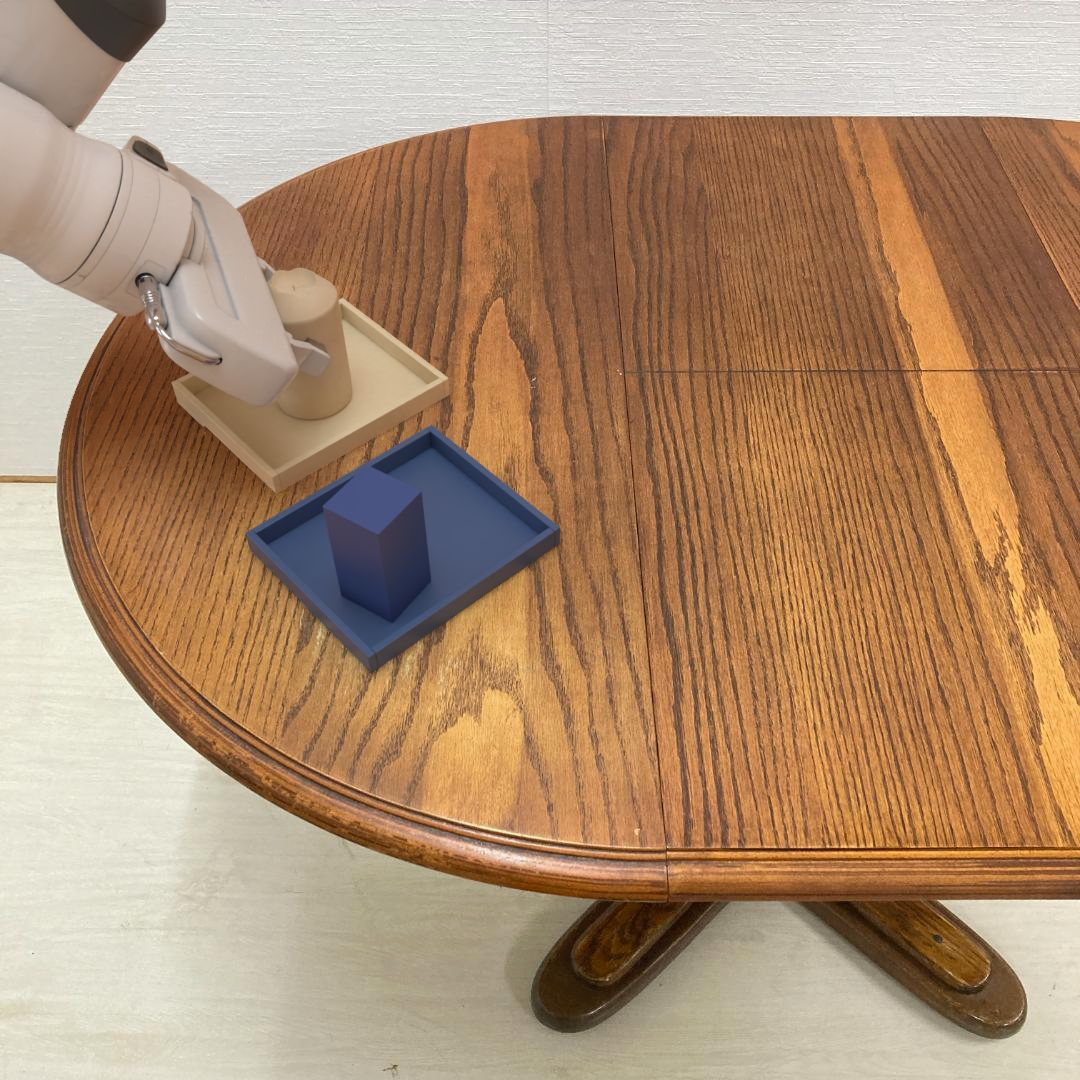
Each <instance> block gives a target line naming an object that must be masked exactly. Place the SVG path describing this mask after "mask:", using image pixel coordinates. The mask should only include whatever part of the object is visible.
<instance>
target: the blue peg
mask: <svg viewBox="0 0 1080 1080" xmlns="http://www.w3.org/2000/svg"><path fill="white" fill-rule="evenodd" d="M323 511H324V515H325V520H326V525H327V530H328V535H329V539H330V544H331V549H332V554H333V559H334V564H335V568H336V573H337V578H338V583H339V588H340V592H341V596H343V597H345V598H347V599H349V600H350V601H352V602H354V603H356V604H358V605H360V606H362V607H363V608H365V609H367V610H369V611H371V612H373V613H374V614H376V615H378V616H380V617H382V618H384V619H386V620H387V621H389V622H391V623H393V622H394V621H395V620H396V619H397V618H398V616H399V615H400V614H401V613H402V612H403V611H404V610H405V609H406V608H407V607H408V606H409V604H410V603H411V602H412V601H413V600H414V599H415V598H416V597H417V596H418V595H419V594H420V592H421V591H422V590H423V589H424V588H425V587H426V586H427V585H428V584H429V583H430V582H431V572H430V563H429V554H428V545H427V536H426V526H425V517H424V508H423V499H422V491H420V490H418V489H416V488H414V487H412V486H410V485H408V484H406V483H404V482H402V481H400V480H398V479H396V478H393V477H391V476H389V475H387V474H385V473H383V472H381V471H379V470H377V469H375V468H373V467H371V466H369V465H366V466H365V467H364V468H363V469H362V470H361V471H360V472H358V473H357V474H356V475H355V476H354V477H353V478H352V479H351V480H350V481H349V482H348V483H347V484H346V485H345V486H344V487H343V488H341V489H340V490H339V491H338V492H337V493H336V494H335V495H334V496H333V497H332V498H331V499H330V500H329V501H328V502H327V503H326V504H324V505H323Z"/></svg>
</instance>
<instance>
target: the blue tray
mask: <svg viewBox="0 0 1080 1080" xmlns="http://www.w3.org/2000/svg"><path fill="white" fill-rule="evenodd" d="M366 465H369V466H371V467H373V468H375V469H377V470H379V471H381V472H383V473H385V474H387V475H389V476H391V477H393V478H396V479H398V480H400V481H402V482H404V483H406V484H408V485H410V486H412V487H414V488H416V489H418V490H420V491H422V499H423V508H424V517H425V526H426V536H427V545H428V554H429V563H430V572H431V582H430V583H429V584H428V585H427V586H426V587H425V588H424V589H423V590H422V591H421V592H420V594H419V595H418V596H417V597H416V598H415V599H414V600H413V601H412V602H411V603H410V604H409V606H408V607H407V608H406V609H405V610H404V611H403V612H402V613H401V614H400V615H399V616H398V618H397V619H396V620H395V621H394V622H393V623H391V622H389V621H387V620H386V619H384V618H382V617H380V616H378V615H376V614H374V613H373V612H371V611H369V610H367V609H365V608H363V607H362V606H360V605H358V604H356V603H354V602H352V601H350V600H349V599H347V598H345V597H343V596H341V592H340V588H339V583H338V578H337V573H336V568H335V564H334V559H333V554H332V549H331V544H330V539H329V535H328V530H327V525H326V520H325V515H324V511H323V505H324V504H326V503H327V502H328V501H329V500H330V499H331V498H332V497H333V496H334V495H335V494H336V493H337V492H338V491H339V490H340V489H341V488H343V487H344V486H345V485H346V484H347V483H348V482H349V481H350V480H351V479H352V478H353V477H354V476H355V475H356V474H357V473H358V472H360V471H361V470H362V469H363V468H364V467H365V466H366ZM244 534H245V537H246V541H247V545H248V548H249V550H250V551H251V552H252V554H254V555H255V556H256V557H257V559H259V560H260V562H261V563H263V565H264V566H266V568H268V570H270V572H272V574H273V575H274V576H275V577H276V578H277V579H278V580H279V581H280V582H281V583H282V584H283V585H284V586H285V587H286V588H287V589H288V590H289V591H290V592H291V593H292V594H293V595H294V596H295V597H296V598H297V599H298V600H299V601H300V602H301V603H302V604H303V605H304V606H305V607H306V608H307V609H308V611H310V612H311V614H313V615H314V617H316V618H317V619H318V621H320V622H321V623H322V625H323V626H324V627H325V628H326V629H327V630H328V631H329V632H330V633H331V634H332V635H333V636H334V637H335V638H336V639H337V640H338V641H339V642H340V643H341V644H342V645H343V646H344V647H345V648H346V649H347V650H348V651H349V652H350V653H351V655H353V656H354V657H355V658H356V659H357V660H358V661H359V662H360V663H361V665H363V666H364V668H366V670H368V671H369V672H370V673H371V674H373V673H374V672H376V671H377V670H379V669H380V668H382V667H384V665H386V664H387V663H389V662H390V661H392V660H393V659H395V658H397V656H399V655H400V654H402V653H403V652H405V651H406V650H408V649H409V648H411V647H413V646H414V645H415V644H417V643H419V642H420V641H421V640H422V639H424V638H425V637H427V636H428V635H430V634H431V633H433V632H434V631H435V630H437V629H438V628H440V627H442V626H443V625H444V624H446V623H447V622H448V621H450V620H451V619H453V618H454V617H456V616H457V615H458V614H460V613H461V612H463V611H464V610H466V609H468V608H469V607H470V606H471V605H473V604H475V603H476V602H478V601H479V600H481V599H482V598H484V597H485V596H487V595H488V594H489V593H491V592H492V591H494V590H495V589H496V588H498V587H499V586H501V585H502V584H504V583H505V582H506V581H508V580H509V579H511V578H512V577H514V576H515V575H517V574H518V573H520V572H521V571H523V570H524V569H525V568H527V567H529V566H530V565H531V564H533V563H535V562H536V561H537V560H539V559H540V558H541V557H543V556H544V555H546V554H547V553H549V552H551V550H553V549H554V548H556V547H557V546H559V545H560V543H561V527H560V526H559V524H557V523H555V522H554V521H553V520H551V519H550V518H549V517H548V516H547V515H546V514H544V513H543V512H541V511H540V510H539V509H538V508H536V507H535V506H534V505H533V504H531V503H530V502H529V501H528V500H527V499H525V498H524V497H523V496H521V495H520V494H519V493H518V492H516V491H515V490H514V489H513V488H511V487H510V486H509V485H508V484H506V482H504V481H503V480H501V479H500V478H499V477H498V476H497V475H495V474H494V473H493V472H492V471H490V470H489V469H488V468H486V467H485V466H484V465H483V464H481V463H480V462H479V461H478V460H476V458H474V457H473V456H471V454H469V453H468V452H467V451H465V450H464V449H463V448H462V447H460V446H459V445H458V444H457V443H455V442H454V441H453V440H451V438H449V437H448V436H446V435H445V434H444V433H443V432H441V430H439V429H438V428H437V427H435V426H434V425H433V424H430V425H428V426H427V427H425V428H423V429H421V430H419V431H418V432H417V433H415V434H413V435H411V436H410V437H408V438H406V439H404V440H402V441H401V442H399V443H397V444H396V445H394V446H392V447H390V448H389V449H387V450H385V451H384V452H382V453H380V454H379V455H377V456H374V457H373V458H372V459H369V461H366V462H365V463H363V464H361V465H359V466H358V467H356V468H354V469H353V470H350V471H349V472H347V473H346V474H344V475H342V476H340V477H339V478H337V479H335V480H334V481H332V482H330V483H328V484H327V485H325V486H323V487H322V488H320V489H318V490H317V491H315V492H313V493H312V494H310V495H308V496H306V497H304V498H303V499H300V500H299V501H298V502H295V503H294V504H292V505H291V506H289V507H287V508H286V509H284V510H282V511H280V512H279V513H277V514H275V515H274V516H272V517H270V518H268V519H267V520H265V521H263V522H261V523H259V524H257V525H256V526H254V527H252V528H251V529H249V530H248V531H246V532H245V533H244Z"/></svg>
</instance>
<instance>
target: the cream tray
mask: <svg viewBox="0 0 1080 1080" xmlns="http://www.w3.org/2000/svg"><path fill="white" fill-rule="evenodd" d="M338 301H339V307H340V313H341V319H342V326H343V332H344V338H345V344H346V350H347V356H348V363H349V369H350V375H351V382H352V396H351V399H350V401H349V403H348V404H347V405H346V406H345V407H344V408H343V409H342V410H340V411H339V412H337V413H335V414H333V415H331V416H328V417H325V418H320V419H300V418H296V417H293V416H290V415H288V414H287V413H285V412H284V411H283V410H282V409H281V408H280V406H279V404H278V402H277V400H276V401H275V402H274V403H273V404H272V405H270V406H266V407H255V406H252V405H249V404H247V403H245V402H243V401H241V400H239V399H237V398H235V397H233V396H231V395H229V394H227V393H226V392H224V391H222V390H220V389H218V388H216V387H214V386H212V385H211V384H209V383H207V382H205V381H203V380H201V379H200V378H198V377H196V376H194V375H193V374H191V373H189V372H188V373H187V374H185V375H183V376H181V377H179V378H177V379H175V380H173V381H171V385H172V389H173V392H174V395H175V399H176V401H177V404H178V405H179V406H180V407H182V409H184V410H185V411H186V413H188V414H189V415H190V417H192V418H193V419H194V420H195V421H196V422H197V423H198V424H199V425H200V426H201V427H202V428H204V427H205V428H206V429H208V430H209V431H210V432H211V433H212V434H213V435H214V436H215V437H216V438H217V439H218V440H219V441H220V442H221V443H222V444H223V445H224V446H226V447H227V448H228V450H230V451H231V452H232V454H233V455H234V456H236V457H237V458H238V459H239V460H240V461H241V462H242V463H244V465H245V466H246V467H247V468H248V469H250V470H251V471H252V473H254V474H255V475H256V476H257V477H258V478H259V479H260V480H261V481H262V482H263V483H264V484H265V485H266V486H268V488H270V489H271V491H273V492H274V494H278V493H280V492H282V491H284V490H285V489H287V488H289V487H291V486H292V485H294V484H296V483H298V482H299V481H302V480H303V479H304V478H306V477H308V476H310V475H312V474H313V473H315V472H317V471H318V470H321V469H323V468H324V467H325V466H327V465H329V464H331V463H333V462H334V461H336V460H339V458H341V457H344V456H345V455H347V454H349V453H350V452H352V451H354V450H356V449H357V448H359V447H361V446H362V445H364V444H367V443H368V442H370V441H371V440H373V439H375V438H376V437H378V436H380V435H382V434H384V433H385V432H387V431H389V430H390V429H392V428H394V427H396V426H398V425H399V424H402V422H404V421H406V420H408V419H410V418H411V417H413V416H416V415H417V414H419V413H421V412H423V411H424V410H427V408H429V407H431V406H433V405H435V404H436V403H438V402H440V401H441V400H443V399H445V398H447V397H449V396H450V395H451V390H450V379H449V377H448V376H446V374H444V373H442V371H440V370H439V369H437V367H435V366H433V365H432V364H431V363H429V362H428V361H427V360H425V358H423V357H422V356H420V355H419V354H418V353H416V352H415V351H413V350H412V349H411V348H409V347H408V346H407V345H406V344H404V343H403V342H401V341H400V340H399V339H398V338H396V336H394V335H392V334H391V333H390V332H389V331H387V329H385V328H383V326H381V325H379V324H378V323H377V322H375V321H374V320H373V319H372V318H370V317H369V316H367V315H366V314H365V313H363V312H362V311H361V310H359V309H358V308H357V307H356V306H354V305H353V304H351V303H350V302H349V301H348V300H346V299H345V298H344V297H342V298H340V299H339V298H338Z"/></svg>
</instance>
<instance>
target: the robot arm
mask: <svg viewBox="0 0 1080 1080" xmlns="http://www.w3.org/2000/svg"><path fill="white" fill-rule="evenodd" d="M166 21H167V0H0V254H1V255H4V256H7V257H11V258H12V259H14V260H16V261H19V262H20V263H22V264H24V265H25V266H27V267H28V268H29V269H30V270H31V271H33V272H34V273H35V274H36V275H37V276H39V277H40V278H41V279H42V280H45V281H46V282H49V283H50V284H52V285H55V286H57V287H59V288H61V289H63V290H66V291H67V292H69V293H72V294H74V295H76V296H77V297H80V298H83V299H85V300H87V301H89V302H91V303H93V304H96V305H98V306H100V307H101V308H104V309H105V310H108V311H110V312H112V313H114V314H117V315H119V316H122V317H125V318H128V317H129V318H130V317H133V316H136V315H138V314H140V313H142V312H143V311H144V319H145V323H146V324H147V326H148V328H149V329H150V331H152V332H154V333H157V336H158V340H159V343H160V346H161V348H162V350H163V351H164V353H165V354H166V356H167V357H168V358H169V359H170V360H172V361H173V362H174V363H175V364H176V365H177V366H178V367H180V368H181V369H183V370H184V371H186V372H187V373H188V374H189V373H191V374H193V375H194V376H196V377H198V378H200V379H201V380H203V381H205V382H207V383H209V384H211V385H212V386H214V387H216V388H218V389H220V390H222V391H224V392H226V393H227V394H229V395H231V396H233V397H235V398H237V399H239V400H241V401H243V402H245V403H247V404H249V405H252V406H255V407H266V406H270V405H272V404H273V403H274V402H275V401H276V400H277V399H278V398H279V397H280V396H281V394H282V393H283V392H284V391H285V390H286V388H287V387H288V386H289V384H290V383H291V382H292V381H293V379H294V378H295V376H296V375H297V373H298V370H301V371H303V372H305V373H307V374H309V375H311V376H313V377H318V376H320V375H322V374H323V373H324V371H325V370H326V369H327V368H328V366H329V365H330V364H331V358H330V356H329V355H328V352H327V350H326V348H325V346H324V345H323V344H321V343H318V342H316V341H315V340H313V339H311V338H309V337H307V339H306V340H305V341H304V342H303V341H298V340H294V339H293V337H292V335H291V334H290V333H289V332H287V331H285V329H284V326H283V324H282V321H281V319H280V316H279V313H278V311H277V308H276V305H275V303H274V300H273V298H272V295H271V292H270V290H269V287H268V284H267V281H268V280H269V279H270V278H271V277H272V276H273V274H274V273H275V272H276V271H277V270H275V269H274V268H273V267H272V266H271V265H270V264H269V263H267V262H266V260H265V259H263V258H261V257H259V256H258V255H257V253H256V250H255V247H254V245H253V242H252V239H251V238H250V237H251V236H250V234H249V232H248V229H247V227H246V224H245V222H244V218H243V215H242V214H241V213H240V211H239V210H238V209H237V208H236V207H235V206H234V205H233V204H232V203H231V202H230V201H228V199H226V198H225V197H224V196H223V195H221V194H220V193H219V192H218V191H215V190H214V189H213V188H211V187H210V186H208V185H206V183H204V182H202V181H201V180H199V179H198V178H196V177H195V176H193V175H192V174H190V173H189V172H187V171H185V170H184V169H182V168H181V167H179V166H177V165H176V164H174V163H172V162H169V161H166V159H165V156H164V154H163V152H162V151H161V149H159V147H157V146H156V145H154V144H153V143H152V142H150V141H148V140H147V139H145V138H143V137H141V136H139V135H135V134H134V135H132V136H131V137H130V138H129V139H128V140H127V142H126V143H125V145H124V146H123V147H122V148H121V149H119V148H118V147H116V146H115V145H113V144H110V143H108V142H105V141H103V140H98V139H95V138H91V137H87V136H85V135H83V134H81V133H78V132H76V131H77V129H78V127H79V126H81V125H82V124H84V122H85V121H86V119H87V118H88V116H89V115H90V114H91V113H92V111H93V110H94V108H95V106H96V105H97V104H98V102H100V100H101V98H102V97H103V95H104V94H105V93H106V91H107V90H108V88H109V87H110V86H111V84H112V83H113V82H114V80H115V78H116V77H117V76H118V75H119V73H120V71H121V70H122V69H123V68H124V67H125V64H126V63H130V62H131V61H132V60H133V59H134V58H135V57H136V56H137V55H138V53H139V52H140V51H141V50H142V49H143V48H144V47H145V46H146V44H147V43H148V42H149V41H150V40H152V38H153V37H154V36H155V34H157V32H158V31H159V30H160V29H161V28H162V27H163V25H165V23H166Z"/></svg>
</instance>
